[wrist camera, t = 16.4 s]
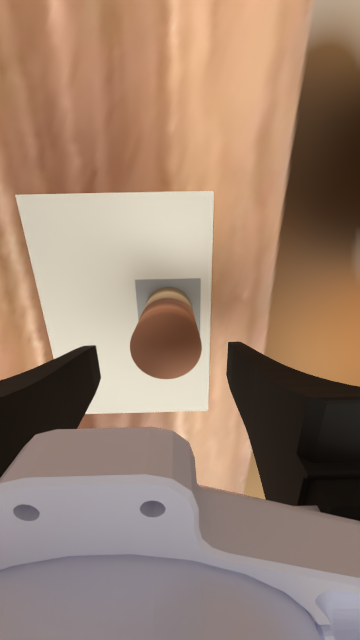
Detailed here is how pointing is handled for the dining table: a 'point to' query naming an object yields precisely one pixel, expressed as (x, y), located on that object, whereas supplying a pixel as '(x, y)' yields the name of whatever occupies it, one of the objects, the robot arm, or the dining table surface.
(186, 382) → the baseplate
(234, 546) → the robot arm
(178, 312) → the rust drum
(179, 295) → the maple drum
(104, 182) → the dining table surface
